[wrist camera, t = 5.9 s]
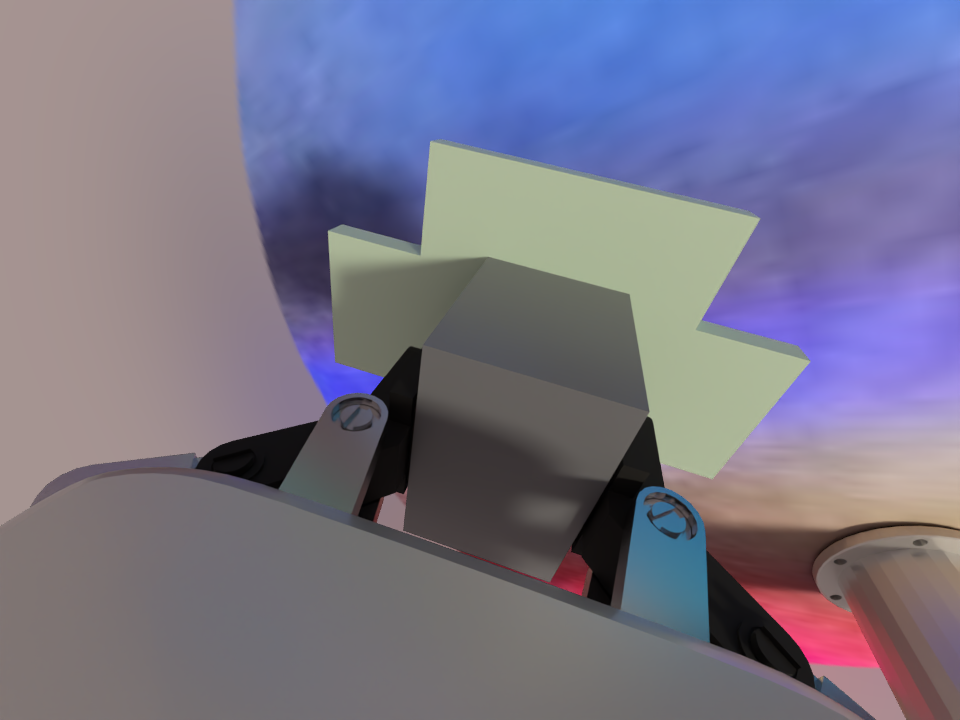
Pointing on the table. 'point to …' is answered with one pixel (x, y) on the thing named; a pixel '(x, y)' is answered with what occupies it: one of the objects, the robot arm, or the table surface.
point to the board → (583, 242)
